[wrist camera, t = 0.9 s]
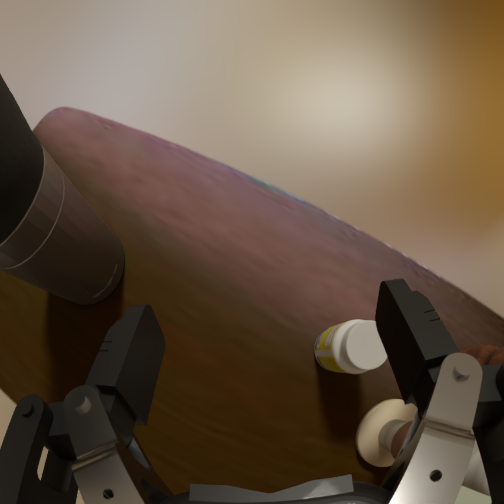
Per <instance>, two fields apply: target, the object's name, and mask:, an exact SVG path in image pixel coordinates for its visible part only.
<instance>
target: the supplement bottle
mask: <svg viewBox="0 0 504 504" xmlns="http://www.w3.org/2000/svg"><path fill="white" fill-rule="evenodd" d="M314 351H315V356H316V359H317V361H318V363H319V364H320V365H321V366H322V367H323V368H325V369H326V370H329V371H333V372H341V373H350V374H360V373H364V372H366V371H368V370H372V369H375V368H377V367H379V366H380V365H382V364H383V363H384V361H385V360H386V359H387V354H386V352H385V349H384V347H383V344H382V342H381V339H380V337H379V334H378V332H377V328H376V322H375V321H369V320H368V321H365V320H359V319H358V320H350V321H347V322H344V323H341V324H339V325H336V326H333V327H330V328H327V329H326V330H324V331H323V332H322V333H321V334H320V335H319V336H318V338H317V340H316V343H315V348H314Z"/></svg>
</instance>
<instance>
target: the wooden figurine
mask: <svg viewBox="0 0 504 504" xmlns="http://www.w3.org/2000/svg"><path fill="white" fill-rule="evenodd" d="M459 351H460V353H466V354H468V355H471V356H472V357H474V358H475V359H476V360H477V361H478V362H479V364H480V365H502V363H503V362H504V347H502V348H499V347H496V346H493V345H477V346H471V347H468V348H464V349H461V350H459Z"/></svg>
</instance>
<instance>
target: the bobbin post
mask: <svg viewBox="0 0 504 504" xmlns="http://www.w3.org/2000/svg"><path fill="white" fill-rule="evenodd" d="M417 410H418V409H417V407H416V406H415V405H413V404H412V403H410V404H406V405H405V404H404V401H403V400H400V399H388V400H385V401H382V402H380V403H378V404H376V405H375V406H373V407H372V408H371V409H370V410H369V411H368V412H367V413H366V414H365V415H364V417H363V418H362V420H361V421H360V423H359V426H358V428H357V431H356V436H355V444H356V449H357V451H358V453H359V455H360V456H361V457H362V458H363V459H364V460H365V461H367V462H368V463H370V464H371V465H374V466H378V467H387V466H391V465H392V464H393V462H394V461H395V459H396V457H397V455H398V453H399V451H400V449H401V447H402V445H403V442H404V440H405V438H406V436H407V433H408V431H409V429H410V426H411V424H412V421H413V419H414V416H415V414H416V412H417ZM462 486H464V487H467V488H469V489H472V490H474V491H477V492H479V493H482V494H485V495H487V496H490V491H489V487H488V483H487V478H486V474H485V470H484V467H483V463H482V459H481V456H480V452H479V449H478V445H477V442H476V440H475V445H474V449H473V452H472V456H471V459H470V462H469V465H468V468H467V471H466V474H465V477H464V480H463V483H462ZM490 497H491V496H490Z"/></svg>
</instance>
